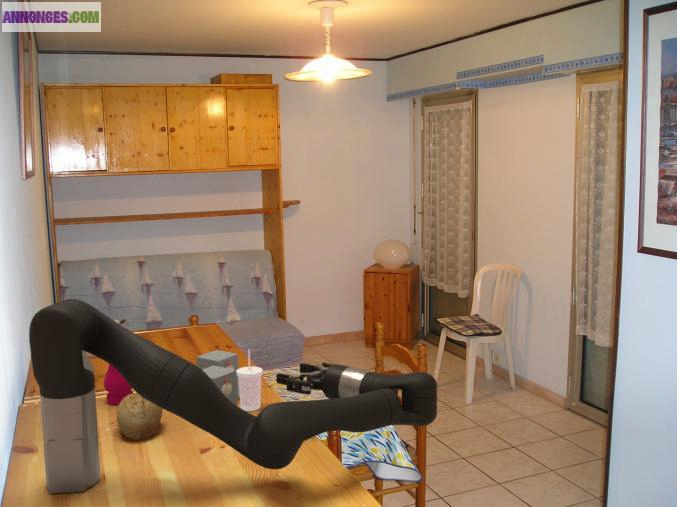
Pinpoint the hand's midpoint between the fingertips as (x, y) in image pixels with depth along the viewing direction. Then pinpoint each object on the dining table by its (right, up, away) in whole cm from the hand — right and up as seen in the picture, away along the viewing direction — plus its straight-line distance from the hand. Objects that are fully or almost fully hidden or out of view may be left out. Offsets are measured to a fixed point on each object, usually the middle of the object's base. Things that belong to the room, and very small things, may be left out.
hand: (289, 372), depth 156 cm
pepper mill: (-42, -9, +13) cm, 45 cm away
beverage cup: (-10, -10, +7) cm, 16 cm away
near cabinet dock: (-12, -11, -3) cm, 16 cm away
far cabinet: (-18, -9, +13) cm, 24 cm away
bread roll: (-32, -12, -5) cm, 34 cm away
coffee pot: (-55, -7, +29) cm, 63 cm away
